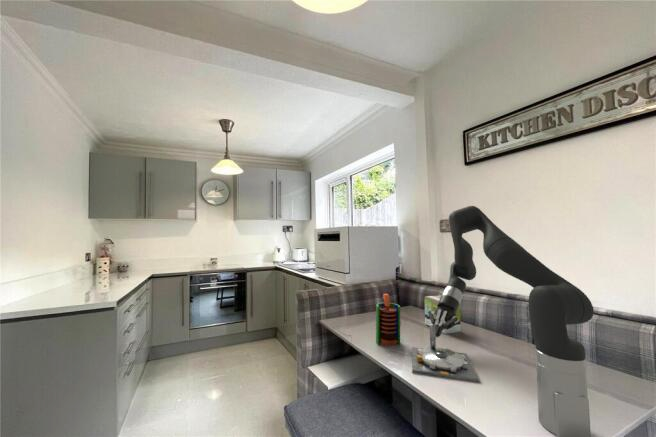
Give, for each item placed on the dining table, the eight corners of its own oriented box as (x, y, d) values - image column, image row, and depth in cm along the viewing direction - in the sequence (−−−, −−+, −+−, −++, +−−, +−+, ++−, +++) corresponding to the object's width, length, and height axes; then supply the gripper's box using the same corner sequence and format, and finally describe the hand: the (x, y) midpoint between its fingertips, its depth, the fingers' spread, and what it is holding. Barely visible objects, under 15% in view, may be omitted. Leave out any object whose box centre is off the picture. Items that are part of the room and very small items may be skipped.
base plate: (479, 382, 85) (479, 378, 85) (412, 372, 90) (412, 369, 90) (466, 356, 104) (466, 352, 104) (411, 349, 109) (411, 346, 109)
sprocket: (472, 374, 87) (471, 341, 87) (417, 367, 91) (416, 335, 92) (462, 353, 103) (461, 325, 103) (415, 348, 107) (415, 321, 108)
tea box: (424, 324, 142) (423, 295, 143) (440, 322, 145) (439, 294, 146) (444, 334, 128) (443, 302, 129) (461, 332, 131) (460, 300, 132)
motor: (381, 347, 111) (381, 297, 113) (372, 339, 120) (372, 293, 121) (403, 345, 114) (402, 296, 116) (392, 337, 123) (392, 292, 124)
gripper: (469, 308, 111) (455, 346, 102) (439, 302, 121) (424, 336, 113) (463, 297, 108) (447, 335, 100) (432, 291, 118) (416, 325, 110)
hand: (435, 335), depth 106 cm, fingers closed
